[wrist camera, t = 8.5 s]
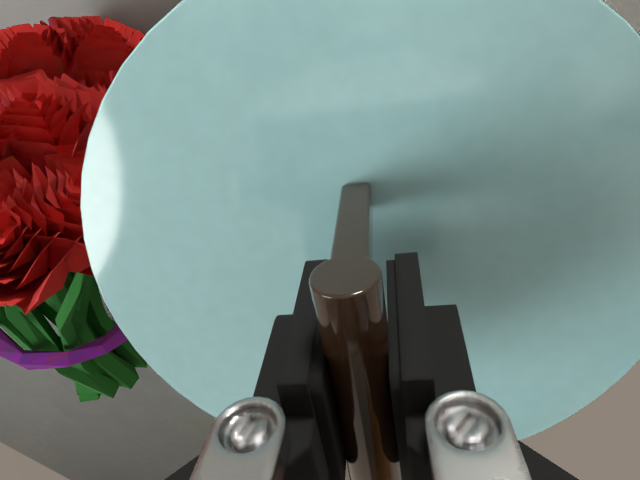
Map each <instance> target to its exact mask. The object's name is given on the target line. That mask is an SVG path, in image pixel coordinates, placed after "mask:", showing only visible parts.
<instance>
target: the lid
mask: <svg viewBox="0 0 640 480" xmlns="http://www.w3.org/2000/svg"><path fill="white" fill-rule="evenodd" d="M80 209H81V218H82V227H83V236H84V242H85V246H86V250H87V254H88V258H89V262H90V266H91V269H92V272H93V275H94V277H95V280H96V282H97V285H98V287H99V290H100V292H101V295H102V297H103V300H104V301H105V303H106V305H107V307H108V309H109V310H110V312H111V314H112V316H113V318H114V319H115V321H116V323H117V325H118V326H119V328H120V329H121V331H122V332H123V333H124V335H125V336H126V338H127V339H128V340H129V342H130V343H131V344H132V346H133V347H134V349H135V350H136V351H137V352H138V353H139V354H140V356H141V357H142V358H143V359H144V360H145V361H146V362H147V363H148V364H149V365H150V367H151V368H152V369H153V370H154V371H155V372H156V373H157V374H158V375H159V376H160V377H162V378H163V379H164V380H165V381H166V382H167V383H168V384H169V385H170V386H172V387H173V388H174V389H175V390H176V391H177V392H179V393H180V394H181V395H183V396H184V397H185V398H187V399H188V400H189V401H191V402H192V403H194V404H195V405H196V406H198V407H199V408H200V409H202V410H204V411H205V412H207V413H209V414H210V415H212V416H214V417H215V418H217V417H218V415H219V414H220V413H221V412H222V411H223V410H224V409H225V408H227V407H228V406H230V405H231V404H233V403H235V402H236V401H239V400H242V399H245V398H249V397H253V394H254V391H255V387H256V384H257V380H258V377H259V373H260V369H261V366H262V362H263V359H264V355H265V352H266V348H267V345H268V341H269V338H270V334H271V331H272V327H273V324H274V320H275V318H276V316H278V315H288V314H293V311H294V307H295V302H296V298H297V294H298V290H299V286H300V281H301V277H302V273H303V269H304V265H305V262H306V261H311V260H323V259H328V260H327V261H325V262H323V263H321V264H320V265H318V266H317V267H316V268H315V269H314V270H313V271H312V273H311V274H310V277H309V287H310V292H311V296H312V301H313V306H314V311H315V315H316V320H317V325H318V330H319V334H320V339H321V344H322V349H323V353H324V357H325V362H326V366H327V371H328V376H329V381H330V386H331V390H332V395H333V400H334V405H335V409H336V414H337V419H338V424H339V428H340V433H341V438H342V443H343V447H344V452H345V457H346V463H347V467H348V472H349V477H350V480H402V479H401V471H400V463H399V455H398V447H397V439H396V431H395V423H394V415H393V407H392V399H391V390H390V379H389V352H388V351H389V348H390V338H389V329H388V313H387V274H386V260H395V254H398V253H410V252H417V253H418V260H419V267H420V275H421V282H422V290H423V298H424V305H425V306H435V305H451V304H456V306H457V309H458V313H459V317H460V322H461V326H462V331H463V335H464V340H465V344H466V348H467V353H468V357H469V362H470V366H471V371H472V375H473V380H474V384H475V388H476V392H478V393H481V394H484V395H486V396H488V397H490V398H492V399H493V400H495V401H496V402H497V403H498V404H499V405H500V406H501V407H503V408H504V410H505V411H506V413H507V415H508V417H509V418H510V421H511V423H512V426H513V429H514V432H515V434H516V437H517V440H519V441H520V440H523V439H525V438H528V437H530V436H532V435H535V434H537V433H540V432H542V431H544V430H546V429H548V428H550V427H551V426H553V425H555V424H557V423H559V422H561V421H563V420H565V419H566V418H568V417H570V416H572V415H573V414H575V413H576V412H578V411H579V410H581V409H582V408H584V407H585V406H587V405H588V404H590V403H591V402H593V401H594V400H596V399H597V398H598V397H600V396H601V395H602V394H603V393H605V392H606V391H607V390H608V389H609V388H610V387H612V386H613V385H614V384H615V383H616V382H618V381H619V380H620V379H621V378H622V377H624V375H625V374H626V373H627V372H628V371H629V370H630V369H631V368H632V367H633V366H634V364H635V363H637V362H638V360H639V359H640V35H639V34H638V33H637V32H636V31H635V29H634V28H633V27H632V26H631V25H630V24H629V22H628V21H626V20H625V19H624V18H623V17H622V16H620V15H619V14H618V13H617V12H616V11H614V10H613V9H612V8H611V7H609V6H608V5H607V4H606V3H605V2H603V1H602V0H182V1H181V2H180V3H179V4H178V5H176V6H175V7H174V8H173V9H172V10H171V11H170V12H169V13H168V14H167V15H166V16H164V17H163V18H162V19H161V20H160V21H159V22H158V23H157V24H156V25H155V26H153V27H152V28H151V29H150V30H149V31H148V32H147V34H146V35H145V36H144V37H143V39H142V40H141V41H140V42H139V44H138V45H137V46H136V47H135V49H134V50H133V51H132V52H131V54H130V55H129V56H128V58H127V59H126V60H125V61H124V63H123V64H122V65H121V67H120V69H119V71H118V72H117V74H116V76H115V78H114V79H113V81H112V83H111V85H110V87H109V88H108V90H107V92H106V94H105V96H104V97H103V99H102V101H101V104H100V107H99V110H98V112H97V115H96V118H95V120H94V123H93V126H92V129H91V131H90V134H89V137H88V143H87V148H86V153H85V158H84V163H83V168H82V176H81V202H80Z"/></svg>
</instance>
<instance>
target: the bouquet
mask: <svg viewBox="0 0 640 480" xmlns="http://www.w3.org/2000/svg"><path fill="white" fill-rule="evenodd" d="M48 22H49V25H50V26H49V25H47V24H46V23H44V22H43V21H40V24H41V25H40V24H34V29H33V28H32V26H31V25H30V24H22V25H16V26H12V27H8V28H7V29H2V30H0V326H1V327H2V328H3V329H4V330H5V331H6V332H7V333H8V334H9V335H10V336H11V337H12V338H13V339H14V340H15V341H16V342H17V343H18V344H19V345H20V346H21V347H22V348H21V347H20V346H19V345H18V344H17V343H16V342H15V341H14V340H13V339H12V338H10V337H9V336H8V335H7V334H6V333H5V332H4V331H3V330H2V329H1V328H0V356H1V357H3V358H5V359H7V360H9V361H12V362H14V363H16V364H18V365H20V366H22V367H24V368H26V369H28V370H32V369H48V368H55V369H56V370H57V371H58V372H59V373H60V374H62V375H64V376H65V377H67V378H69V379H71V380H73V381H74V382H75V386H76V391H77V395H79V399H80V402H82V401H90V400H98V399H99V397H100V395H105V396H108V397H112V398H114V396H115V394H116V392H117V390H118V388H119V386H122V387H126V388H129V389H131V388H132V387H133V386H134V384H135V383H136V381H137V380H138V378H139V376H138V374H137V372H136V370H135V367H147V363H146V361H145V360H144V359H143V358H142V357H141V356H140V354H139V353H138V352H137V351H136V350H135V349H134V347H133V346H132V344H131V343H130V342H129V340H128V339H127V338H126V336H125V335H124V333H123V332H122V331H121V329H120V328H119V326H118V325H117V323H115V322H114V321H113V320H111V319H110V318H109V317H108V315H107V313H106V311H105V309H104V306H103V303H102V300H101V297H100V294H99V290H98V285H97V282H96V280H95V277H94V275H93V272H92V269H91V266H90V262H89V258H88V254H87V250H86V246H85V242H84V236H83V227H82V218H81V209H80V202H81V176H82V168H83V163H84V158H85V153H86V148H87V143H88V137H89V134H90V131H91V129H92V126H93V123H94V120H95V118H96V115H97V112H98V110H99V107H100V104H101V101H102V99H103V97H104V96H105V94H106V92H107V90H108V88H109V87H110V85H111V83H112V81H113V79H114V78H115V76H116V74H117V72H118V71H119V69H120V67H121V65H122V64H123V63H124V61H125V60H126V59H127V58H128V56H129V55H130V54H131V52H132V51H133V50H134V49H135V47H136V46H137V45H138V44H139V42H140V41H141V40H142V39H143V37H144V36H145V35H146V34H143V33H141V31H139V30H135V29H133V28H132V27H128V26H126V25H125V24H121V23H120V22H117V21H114V20H111V19H109V18H106V17H105V20H104V23H102V20H101V17H100V16H83V17H64V18H59V17H50V18H49V19H48ZM44 316H46V317H47V318H48V319H49V320H50V321H51V322H52V323H53V324H54V325H56V327H57V328H58V331H59V335H60V337H59V336H58V335H57V334H56V332H55V331H54V330H53V328H52V327H51V325H50V324H49V322H48V321H47V320H46V318H45V317H44ZM23 348H24V349H26V350H24V349H23Z"/></svg>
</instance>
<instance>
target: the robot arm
mask: <svg viewBox="0 0 640 480" xmlns="http://www.w3.org/2000/svg"><path fill="white" fill-rule="evenodd" d="M327 260H328V259H323V260H311V261H306V262H305V265H304V269H303V273H302V277H301V281H300V286H299V290H298V294H297V298H296V302H295V307H294V311H293V314H288V315H278V316H276V318H275V320H274V324H273V327H272V331H271V334H270V338H269V341H268V345H267V348H266V352H265V355H264V359H263V362H262V366H261V369H260V373H259V377H258V380H257V384H256V387H255V391H254V394H253V397H249V398H245V399H242V400H239V401H236V402H235V403H233V404H231V405H230V406H228V407H227V408H225V409H224V410H223V411H222V412H221V413H220V414H219V415H218V417H217V418H216V420H215V422H214V423H213V425H212V427H211V429H210V432H209V434H208V437H207V439H206V441H205V444H204V446H203V448H202V451H201V453H200V455H198V456H197V457H196V458H194V459H193V460H191V461H190V462H189V463H187V464H186V465H184V466H183V467H182V468H180V469H179V470H177V471H176V472H175V473H173V474H172V475H170V476H169V477H168V478H166V479H165V480H345V469H346V457H345V452H344V447H343V443H342V438H341V433H340V428H339V424H338V419H337V414H336V409H335V405H334V400H333V395H332V390H331V386H330V381H329V376H328V371H327V366H326V362H325V357H324V353H323V349H322V344H321V339H320V334H319V330H318V325H317V320H316V315H315V311H314V306H313V301H312V296H311V292H310V287H309V277H310V274H311V273H312V271H313V270H314V269H315V268H316V267H317V266H318V265H320V264H321V263H323V262H325V261H327ZM386 274H387V313H388V329H389V338H390V348H389V351H388V352H389V379H390V390H391V399H392V407H393V415H394V423H395V431H396V439H397V447H398V455H399V463H400V471H401V479H402V480H578V479H577V478H575V477H574V476H572V475H571V474H569V473H568V472H566V471H565V470H563V469H562V468H560V467H558V466H557V465H556V464H554V463H552V462H551V461H549V460H548V459H546V458H545V457H543V456H542V455H540V454H539V453H537V452H536V451H534V450H532V449H531V448H529V447H528V446H526V445H525V444H523V443H522V442H520V441H519V440H517V437H516V434H515V432H514V429H513V426H512V423H511V421H510V418H509V417H508V415H507V413H506V411H505V410H504V408H503V407H501V406H500V405H499V404H498V403H497V402H496V401H495V400H493V399H492V398H490V397H488V396H486V395H484V394H481V393H478V392H476V388H475V384H474V380H473V375H472V371H471V366H470V362H469V357H468V353H467V348H466V344H465V340H464V335H463V331H462V326H461V322H460V317H459V313H458V309H457V306H456V304H451V305H435V306H425V305H424V298H423V290H422V282H421V275H420V267H419V260H418V253H417V252H410V253H398V254H395V260H386Z"/></svg>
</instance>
